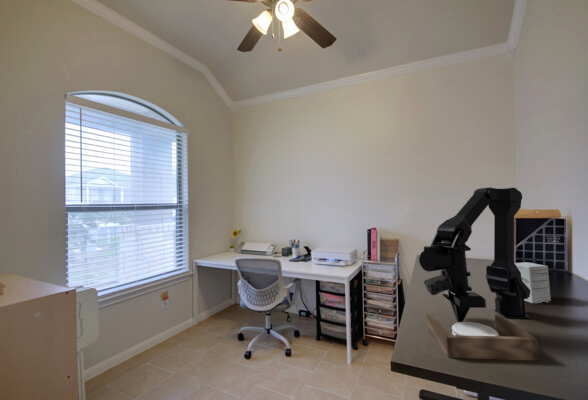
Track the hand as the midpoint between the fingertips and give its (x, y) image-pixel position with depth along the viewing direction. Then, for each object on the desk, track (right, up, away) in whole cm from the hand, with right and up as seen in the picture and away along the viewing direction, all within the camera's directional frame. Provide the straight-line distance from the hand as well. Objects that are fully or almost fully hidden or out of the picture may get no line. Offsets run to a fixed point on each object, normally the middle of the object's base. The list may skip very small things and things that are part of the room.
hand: (459, 322), depth 77 cm
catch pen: (-2, -1, -9) cm, 9 cm away
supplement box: (+38, -1, +19) cm, 42 cm away
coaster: (-2, -1, -9) cm, 9 cm away
